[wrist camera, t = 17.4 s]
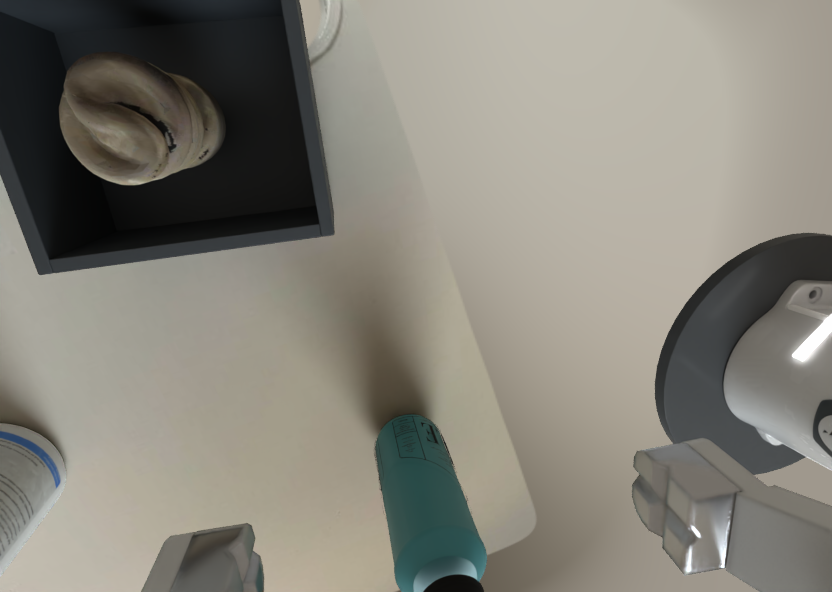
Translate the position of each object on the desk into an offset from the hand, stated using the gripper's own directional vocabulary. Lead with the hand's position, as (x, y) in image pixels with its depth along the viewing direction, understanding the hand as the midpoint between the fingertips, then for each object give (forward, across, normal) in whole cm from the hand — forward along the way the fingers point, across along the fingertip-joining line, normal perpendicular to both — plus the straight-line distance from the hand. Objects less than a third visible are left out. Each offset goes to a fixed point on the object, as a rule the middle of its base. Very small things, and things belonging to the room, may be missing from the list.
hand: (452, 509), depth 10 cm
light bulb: (+30, +11, -10) cm, 33 cm away
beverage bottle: (+31, -1, +19) cm, 37 cm away
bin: (+31, +11, -10) cm, 34 cm away
